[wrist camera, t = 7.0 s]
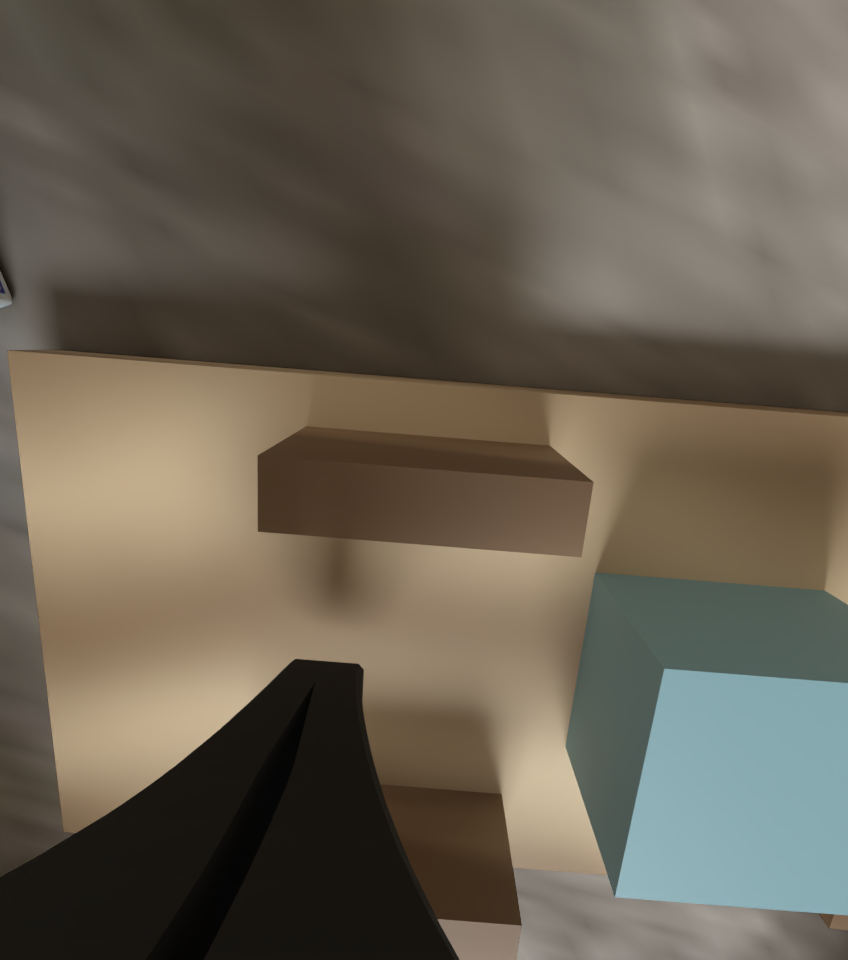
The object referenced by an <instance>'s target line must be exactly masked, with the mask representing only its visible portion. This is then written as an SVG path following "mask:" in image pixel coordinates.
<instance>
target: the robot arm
mask: <svg viewBox="0 0 848 960" xmlns="http://www.w3.org/2000/svg"><path fill="white" fill-rule="evenodd" d="M363 680H364V669H363V668H362V667H361V666H360V665H359V664H356V663H343V662H330V661H317V660H304V659H294V660H293V661H292V662H291V663H289V664H288V665H287V666H286V667H285V668H284V669H283V670H282V671H281V672H280V673H279V674H278V675H277V676H276V677H275V678H274V679H273V680H272V681H271V682H270V683H269V684H268V685H267V686H266V687H265V688H264V689H263V690H262V691H261V692H260V693H259V694H258V695H257V696H255V697H254V698H253V699H252V700H251V701H250V702H249V703H248V704H247V705H246V706H245V707H244V708H243V709H241V710H240V711H239V712H238V713H237V714H236V715H235V716H234V717H233V718H232V719H230V720H229V721H228V722H227V723H226V724H225V725H224V726H223V727H222V728H220V729H219V730H218V731H217V732H216V733H215V734H213V735H212V736H211V737H210V738H209V739H207V740H206V741H205V742H204V743H203V744H201V745H200V746H199V747H198V748H196V749H195V750H194V751H193V752H192V753H190V754H189V755H188V756H187V757H185V758H184V759H183V760H182V761H181V762H179V763H178V764H177V765H176V766H174V767H173V768H172V769H170V770H169V771H168V772H166V773H165V774H164V775H162V776H161V777H160V778H158V779H157V780H156V781H154V782H153V783H152V784H150V785H149V786H148V787H146V788H145V789H143V790H142V791H140V792H139V793H137V794H136V795H135V796H133V797H132V798H130V799H129V800H127V801H126V802H125V803H123V804H122V805H120V806H119V807H117V808H116V809H114V810H113V811H111V812H109V813H108V814H106V815H105V816H103V817H101V818H100V819H98V820H97V821H95V822H93V823H92V824H90V825H88V826H87V827H85V828H83V829H82V830H80V831H79V832H77V833H75V834H74V835H72V836H70V837H69V838H67V839H66V840H64V841H62V842H61V843H59V844H57V845H56V846H54V847H52V848H51V849H49V850H48V851H46V852H44V853H43V854H41V855H39V856H38V857H36V858H34V859H32V860H31V861H29V862H27V863H25V864H23V865H22V866H20V867H18V868H16V869H14V870H13V871H11V872H9V873H7V874H5V875H4V876H2V877H0V960H460V959H459V958H458V956H457V954H456V952H455V950H454V949H453V947H452V945H451V943H450V941H449V940H448V938H447V936H446V934H445V932H444V931H443V929H442V927H441V925H440V923H439V921H438V919H437V917H436V915H435V913H434V911H433V909H432V907H431V905H430V903H429V901H428V899H427V897H426V895H425V893H424V891H423V889H422V887H421V885H420V883H419V881H418V879H417V877H416V875H415V873H414V870H413V868H412V866H411V864H410V862H409V860H408V857H407V855H406V852H405V850H404V848H403V845H402V843H401V840H400V838H399V836H398V833H397V831H396V828H395V825H394V823H393V820H392V817H391V815H390V812H389V809H388V807H387V804H386V801H385V798H384V795H383V792H382V789H381V785H380V782H379V779H378V775H377V772H376V768H375V765H374V761H373V757H372V753H371V749H370V745H369V740H368V735H367V730H366V725H365V719H364V713H363V704H362V698H363Z"/></svg>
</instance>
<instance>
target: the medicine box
mask: <svg viewBox="0 0 848 960" xmlns="http://www.w3.org/2000/svg"><path fill="white" fill-rule="evenodd" d="M11 303H12V298H11V294H10V292H9V290H8V287H7V285H6V283H5V280H4V278H3V276H2V273H1V271H0V308H2V307H5V306H8V305H10V304H11Z"/></svg>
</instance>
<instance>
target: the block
mask: <svg viewBox="0 0 848 960" xmlns="http://www.w3.org/2000/svg"><path fill="white" fill-rule="evenodd" d="M565 747H566V750H567V753H568V756H569V759H570V762H571V765H572V768H573V771H574V774H575V777H576V780H577V783H578V786H579V789H580V792H581V796H582V799H583V802H584V805H585V808H586V811H587V814H588V817H589V820H590V823H591V826H592V829H593V832H594V835H595V838H596V841H597V844H598V847H599V850H600V853H601V856H602V859H603V862H604V865H605V868H606V871H607V874H608V877H609V880H610V884H611V887H612V890H613V893H614V896H615V897H620V898H633V899H646V900H658V901H671V902H684V903H696V904H709V905H722V906H734V907H747V908H760V909H772V910H785V911H798V912H810V913H823V914H836V915H848V605H847V604H846V603H844V602H842V601H841V600H839V599H838V598H836V597H834V596H833V595H831V594H830V593H828V592H826V591H824V590H812V589H799V588H786V587H774V586H761V585H748V584H735V583H723V582H710V581H697V580H685V579H672V578H659V577H647V576H634V575H621V574H608V573H596V572H595V576H594V581H593V587H592V593H591V599H590V605H589V611H588V617H587V623H586V628H585V634H584V640H583V646H582V652H581V658H580V664H579V670H578V676H577V681H576V687H575V693H574V699H573V705H572V711H571V717H570V723H569V729H568V734H567V740H566V746H565Z"/></svg>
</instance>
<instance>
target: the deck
mask: <svg viewBox="0 0 848 960" xmlns="http://www.w3.org/2000/svg"><path fill="white" fill-rule="evenodd" d="M7 353H8V361H9V370H10V379H11V387H12V396H13V404H14V413H15V421H16V430H17V438H18V447H19V455H20V464H21V472H22V481H23V489H24V498H25V507H26V515H27V524H28V532H29V541H30V549H31V558H32V566H33V575H34V583H35V592H36V600H37V609H38V617H39V626H40V635H41V643H42V652H43V660H44V669H45V677H46V686H47V694H48V703H49V711H50V720H51V728H52V737H53V746H54V754H55V763H56V771H57V780H58V788H59V797H60V805H61V814H62V822H63V831H64V832H71V833H77V832H79V831H80V830H82V829H83V828H85V827H87V826H88V825H90V824H92V823H93V822H95V821H97V820H98V819H100V818H101V817H103V816H105V815H106V814H108V813H109V812H111V811H113V810H114V809H116V808H117V807H119V806H120V805H122V804H123V803H125V802H126V801H127V800H129V799H130V798H132V797H133V796H135V795H136V794H137V793H139V792H140V791H142V790H143V789H145V788H146V787H148V786H149V785H150V784H152V783H153V782H154V781H156V780H157V779H158V778H160V777H161V776H162V775H164V774H165V773H166V772H168V771H169V770H170V769H172V768H173V767H174V766H176V765H177V764H178V763H179V762H181V761H182V760H183V759H184V758H185V757H187V756H188V755H189V754H190V753H192V752H193V751H194V750H195V749H196V748H198V747H199V746H200V745H201V744H203V743H204V742H205V741H206V740H207V739H209V738H210V737H211V736H212V735H213V734H215V733H216V732H217V731H218V730H219V729H220V728H222V727H223V726H224V725H225V724H226V723H227V722H228V721H229V720H230V719H232V718H233V717H234V716H235V715H236V714H237V713H238V712H239V711H240V710H241V709H243V708H244V707H245V706H246V705H247V704H248V703H249V702H250V701H251V700H252V699H253V698H254V697H255V696H257V695H258V694H259V693H260V692H261V691H262V690H263V689H264V688H265V687H266V686H267V685H268V684H269V683H270V682H271V681H272V680H273V679H274V678H275V677H276V676H277V675H278V674H279V673H280V672H281V671H282V670H283V669H284V668H285V667H286V666H287V665H288V664H289V663H291V662H292V661H293V660H294V659H304V660H317V661H330V662H343V663H356V664H359V665H360V666H361V667H362V668H363V669H364V680H363V698H362V704H363V713H364V719H365V725H366V730H367V735H368V740H369V745H370V749H371V753H372V757H373V761H374V765H375V768H376V772H377V775H378V779H379V782H380V785H381V789H382V792H383V795H384V798H385V801H386V804H387V807H388V809H389V812H390V815H391V817H392V820H393V823H394V825H395V828H396V831H397V833H398V836H399V838H400V840H401V843H402V845H403V848H404V850H405V852H406V855H407V857H408V860H409V862H410V864H411V866H412V868H413V870H414V873H415V875H416V877H417V879H418V881H419V883H420V885H421V887H422V889H423V891H424V893H425V895H426V897H427V899H428V901H429V903H430V905H431V907H432V909H433V911H434V913H435V915H436V917H437V919H438V921H439V923H440V925H441V927H442V929H443V931H444V932H445V934H446V936H447V938H448V940H449V941H450V943H451V945H452V947H453V949H454V950H455V952H456V954H457V956H458V958H459V959H460V960H516V958H517V951H518V945H519V939H520V933H521V927H522V925H521V918H520V911H519V905H518V898H517V891H516V885H515V878H514V872H513V868H525V869H537V870H550V871H563V872H575V873H588V874H600V875H608V874H607V871H606V868H605V865H604V862H603V859H602V856H601V853H600V850H599V847H598V844H597V841H596V838H595V835H594V832H593V829H592V826H591V823H590V820H589V817H588V814H587V811H586V808H585V805H584V802H583V799H582V796H581V792H580V789H579V786H578V783H577V780H576V777H575V774H574V771H573V768H572V765H571V762H570V759H569V756H568V753H567V750H566V747H565V746H566V740H567V734H568V729H569V723H570V717H571V711H572V705H573V699H574V693H575V687H576V681H577V676H578V670H579V664H580V658H581V652H582V646H583V640H584V634H585V628H586V623H587V617H588V611H589V605H590V599H591V593H592V587H593V581H594V576H595V572H596V573H608V574H621V575H634V576H647V577H659V578H672V579H685V580H697V581H710V582H723V583H735V584H748V585H761V586H774V587H786V588H799V589H812V590H824V591H826V592H828V593H830V594H831V595H833V596H834V597H836V598H838V599H839V600H841V601H842V602H844V603H846V604H847V605H848V413H846V412H833V411H821V410H808V409H796V408H783V407H770V406H758V405H745V404H732V403H720V402H707V401H695V400H682V399H669V398H657V397H644V396H631V395H619V394H606V393H594V392H581V391H568V390H556V389H543V388H530V387H518V386H505V385H493V384H480V383H467V382H455V381H442V380H429V379H417V378H404V377H392V376H379V375H366V374H354V373H341V372H328V371H316V370H303V369H291V368H278V367H265V366H253V365H240V364H228V363H215V362H202V361H190V360H177V359H164V358H152V357H139V356H127V355H114V354H101V353H89V352H76V351H63V350H7ZM819 914H820V916H821V917H822V919H823V920H824V922H825V923H826V925H827V926H828V928H829V929H840V930H848V915H836V914H823V913H819Z"/></svg>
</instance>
